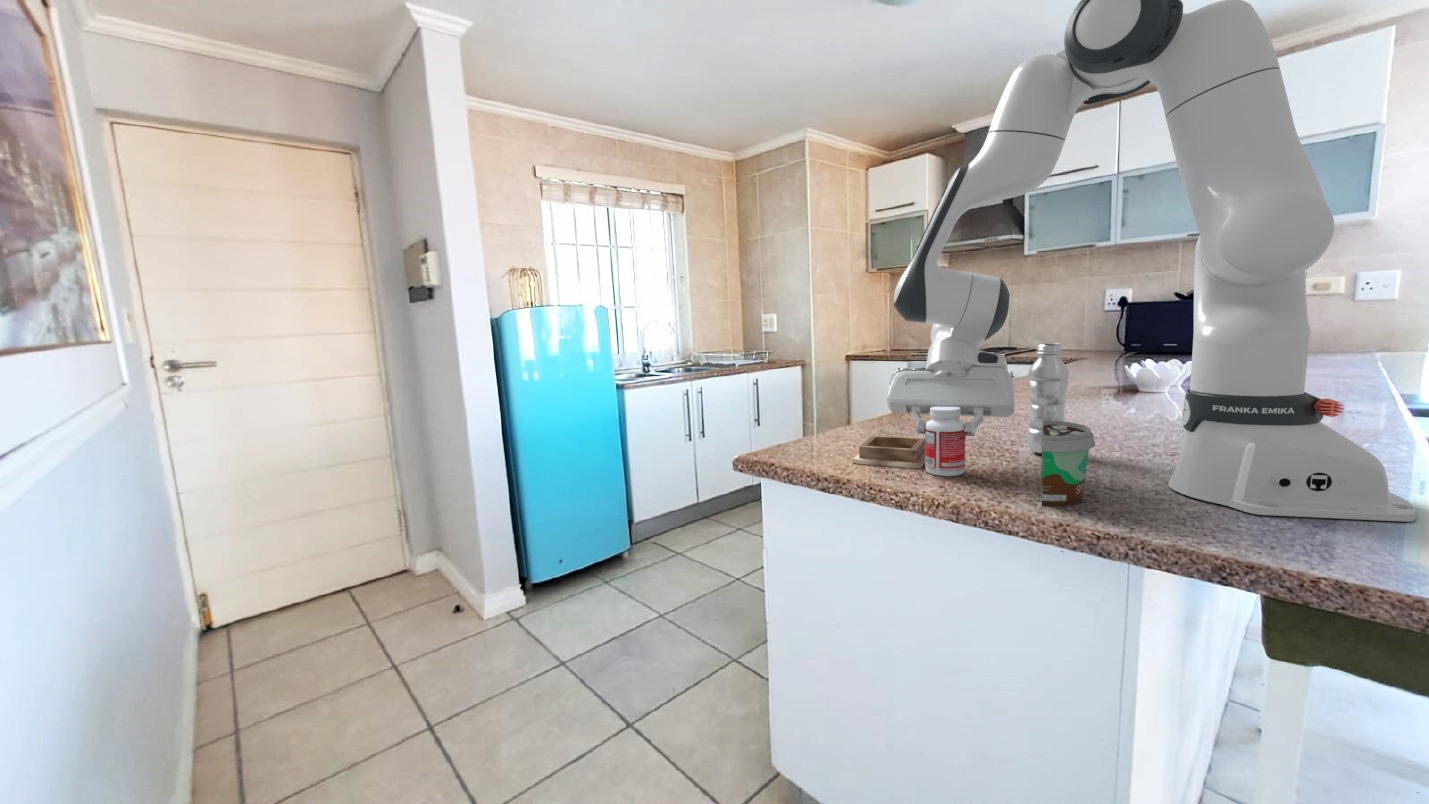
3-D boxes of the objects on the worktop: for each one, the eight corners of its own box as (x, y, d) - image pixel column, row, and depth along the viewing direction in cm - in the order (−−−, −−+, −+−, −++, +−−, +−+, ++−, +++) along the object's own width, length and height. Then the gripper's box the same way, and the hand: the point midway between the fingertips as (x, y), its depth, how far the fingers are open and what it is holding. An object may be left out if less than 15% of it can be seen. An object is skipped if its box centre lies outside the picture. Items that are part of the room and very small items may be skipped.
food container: (1097, 514, 71) (1100, 438, 70) (1041, 509, 74) (1043, 436, 73) (1089, 487, 82) (1091, 421, 80) (1040, 483, 85) (1042, 419, 83)
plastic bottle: (1034, 458, 99) (1037, 346, 96) (1020, 449, 105) (1022, 344, 102) (1074, 457, 97) (1078, 344, 95) (1057, 448, 104) (1060, 342, 101)
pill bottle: (971, 471, 93) (971, 406, 92) (955, 479, 89) (956, 412, 87) (935, 465, 98) (935, 403, 96) (918, 473, 93) (918, 409, 92)
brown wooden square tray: (931, 452, 106) (931, 437, 106) (920, 468, 96) (920, 451, 96) (869, 448, 112) (868, 434, 112) (852, 463, 102) (852, 447, 102)
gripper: (889, 358, 102) (877, 419, 95) (1016, 355, 92) (1013, 425, 85) (895, 379, 106) (883, 439, 99) (1016, 379, 96) (1013, 446, 89)
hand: (944, 433), depth 92 cm, fingers closed on pill bottle, 6 cm apart
